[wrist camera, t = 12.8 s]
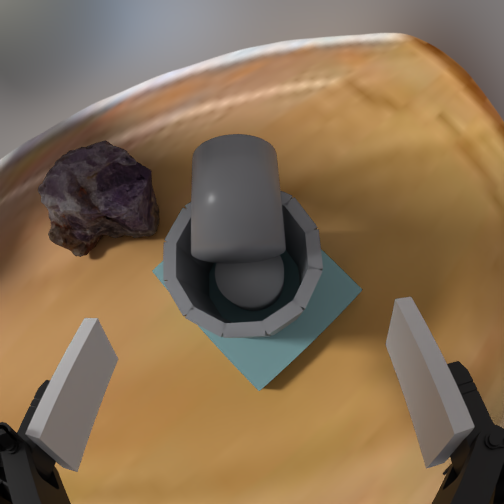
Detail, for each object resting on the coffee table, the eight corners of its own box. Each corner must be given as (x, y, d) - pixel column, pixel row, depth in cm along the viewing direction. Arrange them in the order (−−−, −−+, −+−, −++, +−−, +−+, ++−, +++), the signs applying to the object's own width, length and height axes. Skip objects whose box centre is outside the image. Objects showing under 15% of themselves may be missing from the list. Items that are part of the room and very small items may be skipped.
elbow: (313, 332, 26) (338, 328, 14) (202, 339, 26) (141, 338, 14) (301, 211, 28) (311, 127, 17) (199, 219, 29) (149, 146, 17)
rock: (161, 256, 31) (165, 167, 34) (139, 230, 23) (150, 121, 26) (61, 259, 31) (72, 176, 33) (18, 237, 22) (39, 138, 25)
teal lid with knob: (158, 274, 30) (133, 260, 24) (250, 189, 31) (244, 160, 26) (260, 388, 26) (255, 400, 21) (358, 292, 27) (375, 281, 22)
